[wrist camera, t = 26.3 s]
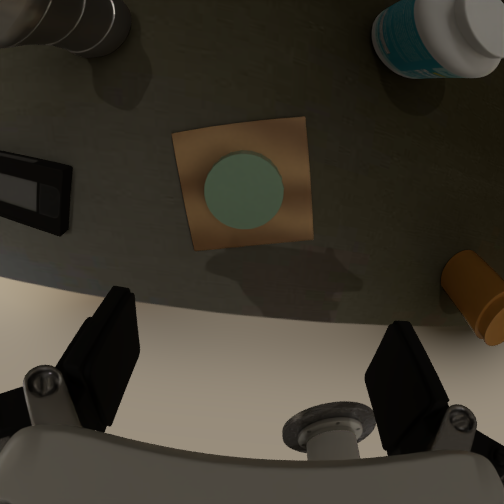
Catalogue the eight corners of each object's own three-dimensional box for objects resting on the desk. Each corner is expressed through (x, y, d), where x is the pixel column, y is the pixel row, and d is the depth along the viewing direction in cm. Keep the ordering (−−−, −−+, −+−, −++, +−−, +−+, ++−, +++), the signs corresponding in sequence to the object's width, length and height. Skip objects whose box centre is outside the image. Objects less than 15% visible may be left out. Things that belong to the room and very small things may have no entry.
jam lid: (219, 139, 27) (216, 142, 25) (293, 163, 28) (295, 168, 26) (198, 209, 30) (194, 217, 28) (268, 231, 31) (268, 239, 29)
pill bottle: (393, 90, 24) (480, 94, 12) (354, 21, 22) (420, -24, 10) (448, 65, 22) (543, 65, 10) (413, 1, 20) (496, -35, 8)
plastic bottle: (100, 73, 24) (-73, 81, 6) (69, 31, 22) (-90, 16, 4) (151, 29, 22) (0, -35, 4) (116, -12, 20) (-25, -79, 2)
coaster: (312, 238, 32) (313, 239, 31) (195, 249, 32) (194, 251, 32) (304, 116, 26) (305, 116, 26) (172, 133, 27) (171, 133, 27)
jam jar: (470, 294, 34) (509, 345, 25) (434, 294, 34) (472, 351, 25) (486, 251, 32) (534, 298, 22) (450, 248, 32) (498, 300, 22)
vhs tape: (-12, 147, 27) (-22, 151, 25) (73, 166, 28) (63, 170, 27) (-12, 203, 30) (-21, 208, 28) (68, 229, 32) (60, 236, 30)
